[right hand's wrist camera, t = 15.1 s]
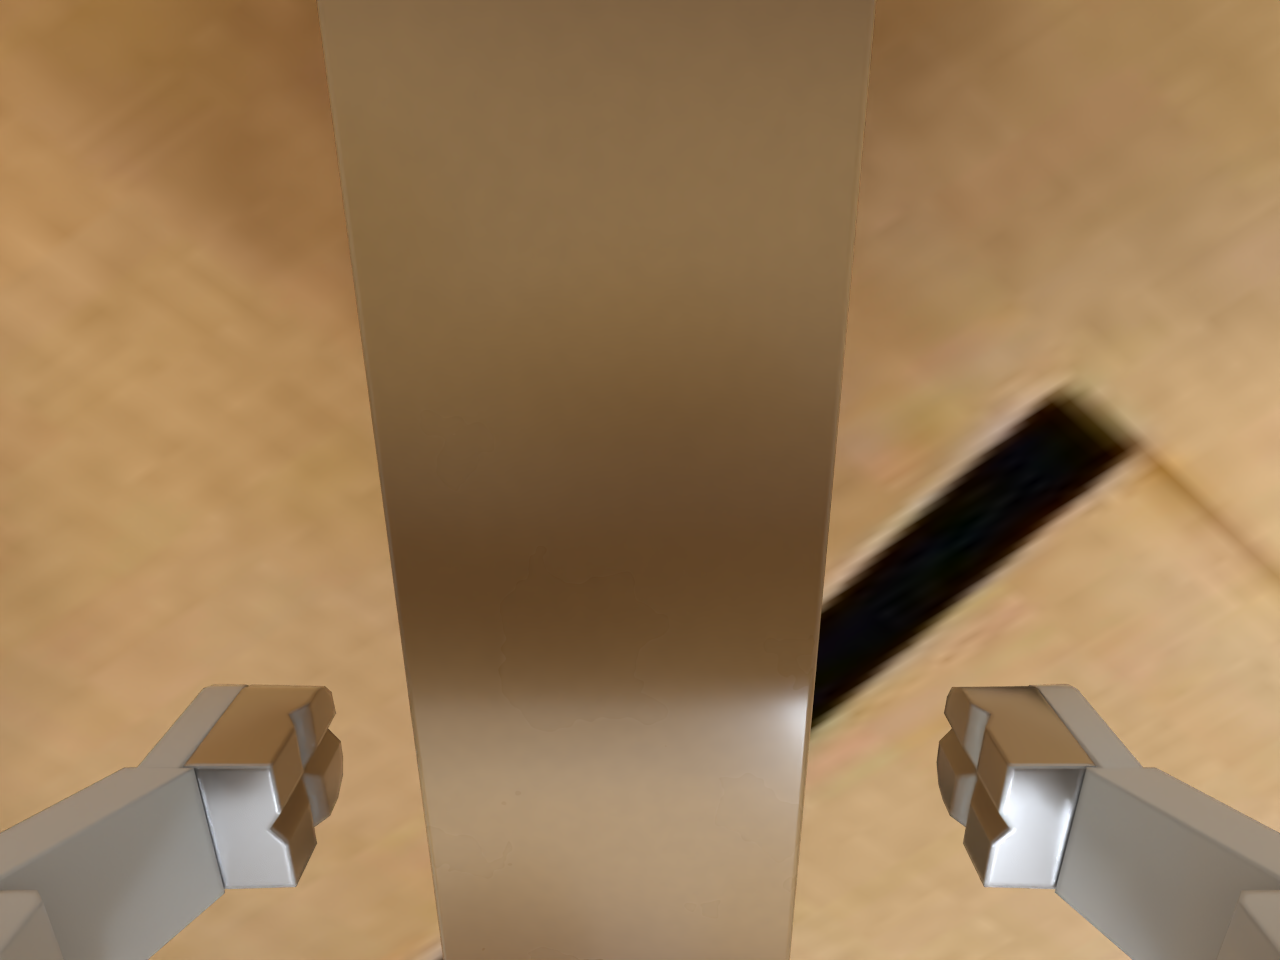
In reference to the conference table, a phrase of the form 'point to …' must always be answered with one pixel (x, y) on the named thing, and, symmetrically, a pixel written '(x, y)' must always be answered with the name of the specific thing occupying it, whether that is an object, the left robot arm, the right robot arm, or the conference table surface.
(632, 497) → the bar
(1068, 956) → the conference table surface
